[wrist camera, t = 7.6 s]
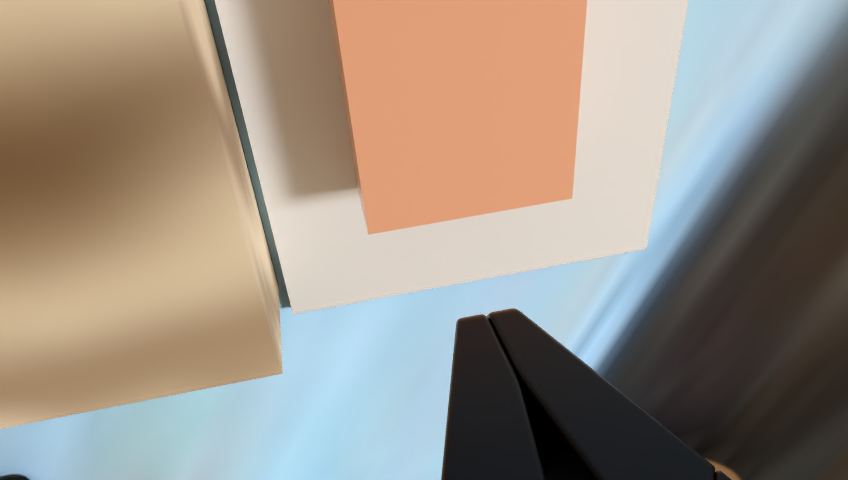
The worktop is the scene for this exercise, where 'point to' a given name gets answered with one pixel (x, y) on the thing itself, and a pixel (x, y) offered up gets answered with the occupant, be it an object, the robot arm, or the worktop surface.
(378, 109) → the tile
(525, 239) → the mat
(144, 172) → the board
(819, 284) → the worktop surface
